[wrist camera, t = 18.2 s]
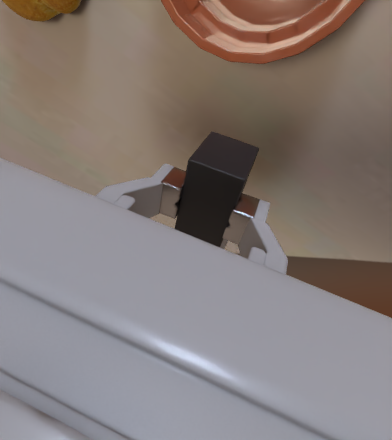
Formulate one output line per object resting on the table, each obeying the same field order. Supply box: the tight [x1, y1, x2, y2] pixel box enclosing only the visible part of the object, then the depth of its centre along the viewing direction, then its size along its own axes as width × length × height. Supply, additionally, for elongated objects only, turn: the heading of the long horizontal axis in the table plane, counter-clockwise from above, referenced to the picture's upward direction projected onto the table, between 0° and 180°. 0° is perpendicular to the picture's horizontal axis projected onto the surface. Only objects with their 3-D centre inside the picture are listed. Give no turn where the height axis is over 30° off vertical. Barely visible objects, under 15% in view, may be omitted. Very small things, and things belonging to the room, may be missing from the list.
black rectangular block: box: [175, 132, 259, 249], centre depth 15 cm, size 8×3×3 cm, turn 168°
